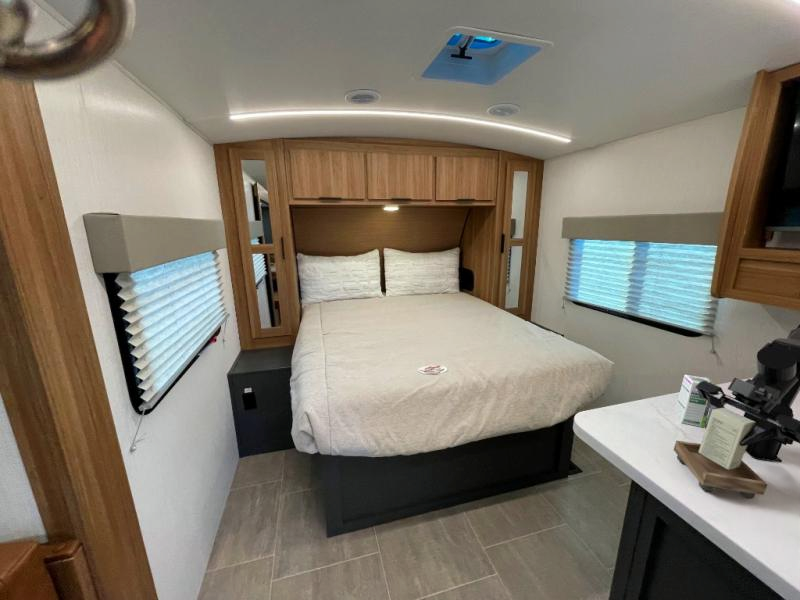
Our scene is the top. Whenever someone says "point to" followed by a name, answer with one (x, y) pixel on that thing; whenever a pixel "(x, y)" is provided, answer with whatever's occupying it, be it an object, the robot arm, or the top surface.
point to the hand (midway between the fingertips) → (723, 435)
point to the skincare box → (725, 437)
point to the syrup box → (692, 402)
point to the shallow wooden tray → (719, 472)
